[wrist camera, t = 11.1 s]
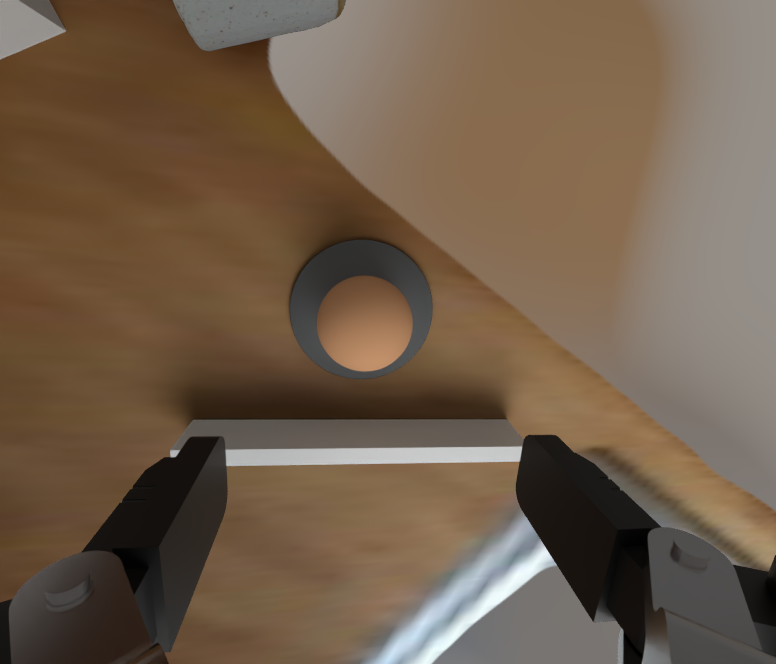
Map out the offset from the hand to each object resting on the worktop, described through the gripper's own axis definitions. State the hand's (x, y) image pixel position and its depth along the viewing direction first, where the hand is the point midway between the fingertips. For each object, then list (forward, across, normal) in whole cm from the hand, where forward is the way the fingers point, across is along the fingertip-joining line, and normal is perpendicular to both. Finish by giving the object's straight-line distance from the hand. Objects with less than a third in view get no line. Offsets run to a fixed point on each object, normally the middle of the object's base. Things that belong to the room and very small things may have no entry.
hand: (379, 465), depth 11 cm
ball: (+15, -1, 0) cm, 15 cm away
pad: (+18, -1, 0) cm, 18 cm away
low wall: (+18, -1, +9) cm, 20 cm away
